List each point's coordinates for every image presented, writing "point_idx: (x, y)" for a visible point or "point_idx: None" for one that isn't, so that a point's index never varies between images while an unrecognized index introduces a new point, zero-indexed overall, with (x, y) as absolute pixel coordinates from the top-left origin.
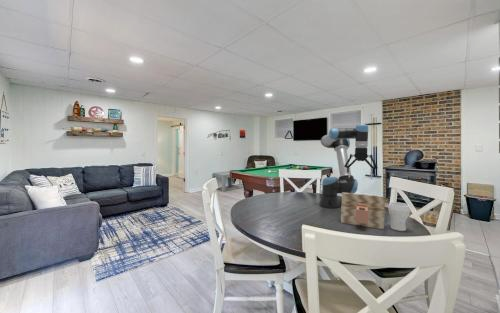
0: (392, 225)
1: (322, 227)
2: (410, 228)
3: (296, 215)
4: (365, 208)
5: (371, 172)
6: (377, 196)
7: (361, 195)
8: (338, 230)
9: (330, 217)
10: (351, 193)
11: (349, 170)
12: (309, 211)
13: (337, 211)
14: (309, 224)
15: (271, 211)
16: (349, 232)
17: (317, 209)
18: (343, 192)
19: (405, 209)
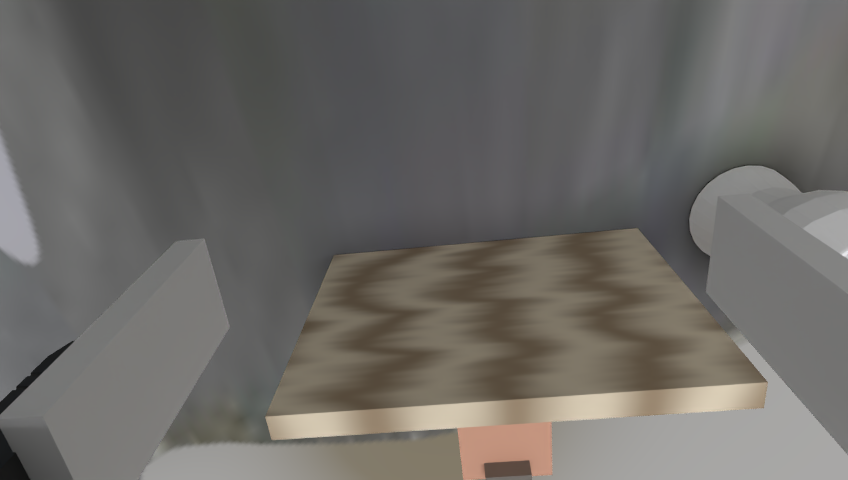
0: (708, 250)
1: (272, 440)
2: (840, 160)
3: (13, 332)
4: (533, 432)
5: (825, 413)
6: (682, 411)
7: (499, 419)
8: (368, 437)
9: (241, 240)
10: (381, 420)
11: (127, 470)
12: (23, 183)
13: (228, 24)
14: (185, 436)
15: None
16: (431, 434)
17: (41, 75)
18: (282, 415)
19: None
